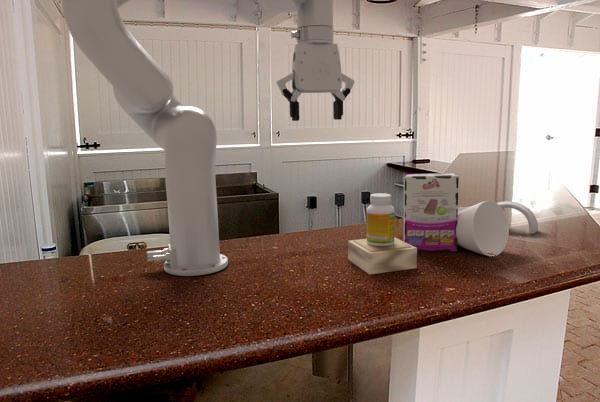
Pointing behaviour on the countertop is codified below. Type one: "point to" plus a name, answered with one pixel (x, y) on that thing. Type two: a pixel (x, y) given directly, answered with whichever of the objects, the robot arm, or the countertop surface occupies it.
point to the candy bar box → (431, 211)
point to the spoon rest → (523, 209)
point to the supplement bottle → (380, 220)
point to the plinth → (382, 256)
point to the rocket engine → (483, 228)
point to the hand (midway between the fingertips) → (316, 120)
